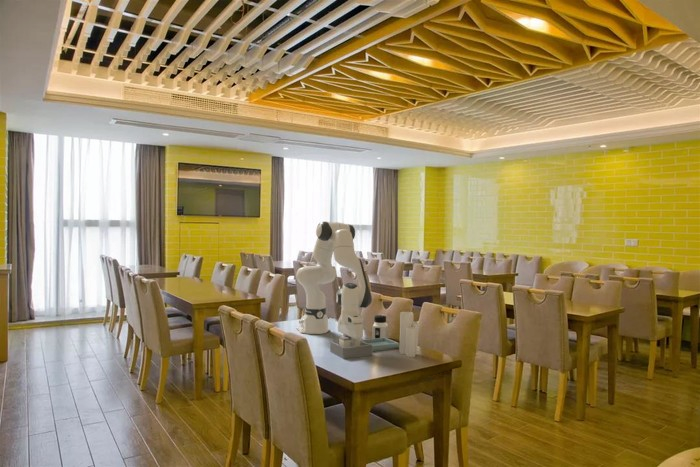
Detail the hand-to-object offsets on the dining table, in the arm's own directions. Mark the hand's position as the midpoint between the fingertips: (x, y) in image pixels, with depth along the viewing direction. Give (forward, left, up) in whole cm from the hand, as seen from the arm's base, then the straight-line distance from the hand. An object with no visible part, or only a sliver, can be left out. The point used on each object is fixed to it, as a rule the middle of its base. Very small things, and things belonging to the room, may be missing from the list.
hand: (349, 344), depth 244 cm
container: (-20, +30, -4) cm, 36 cm away
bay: (+1, 0, -4) cm, 4 cm away
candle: (+14, +26, -4) cm, 30 cm away
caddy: (0, 0, -4) cm, 4 cm away
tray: (-5, +19, -4) cm, 20 cm away
